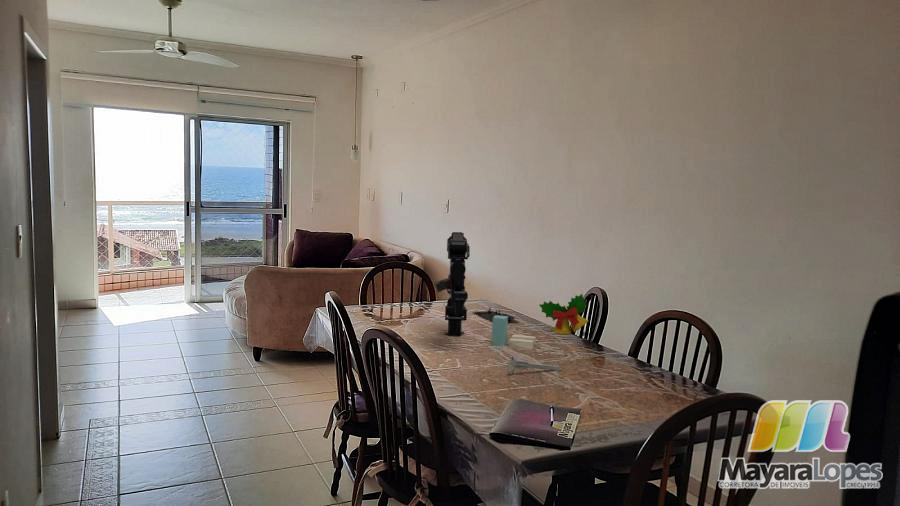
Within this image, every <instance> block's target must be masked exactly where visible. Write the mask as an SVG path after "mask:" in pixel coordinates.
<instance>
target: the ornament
mask: <svg viewBox="0 0 900 506" xmlns="http://www.w3.org/2000/svg"><path fill="white" fill-rule="evenodd" d="M586 300H587V299H586V298H584V295H583V293H581V294H580V295H575V296H574V297H570V301H567V304H568V305H563V306H562V305H560V303H559V302H557V303H553V302H552V301H551V300H549V302H546V301H543V304H538V305H539V307H540V308H541V313H545V318H551V319H552V321H553V322H554V321H555V320H557V321H556V323H555V326H554V327H553V329H552V332H553V333H555V334H559V333H560V334H561V335H570V334H572V333H573V332H574V333H576V332H577V331H578V330H580V329H581V328H582V327H584V326H585V325H586V324H587V323H589V320H588V319H586V318H585V317H583V316H581V315H580V314H581V313H585V307H587V306H588V305H587V304H586Z"/></svg>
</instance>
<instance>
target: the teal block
mask: <svg viewBox="0 0 900 506" xmlns="http://www.w3.org/2000/svg"><path fill="white" fill-rule="evenodd" d="M491 331H492V333H491V335H492V336H491V346H495V347H496V346H497V347H505V346H506V345H507V343H508V316H498V315H495V316H494V317H493V322H492V329H491Z"/></svg>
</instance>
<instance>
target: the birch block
mask: <svg viewBox="0 0 900 506" xmlns="http://www.w3.org/2000/svg"><path fill="white" fill-rule="evenodd" d="M536 341H537V336H533V335H532V336H530V335H523V334H522V335H521V334H513V335H512V336H510V338H509V341H508V348H509V349H517V350H526V351H528V350H529V351H533V350H534V348H535V347H536V344H537V343H536Z"/></svg>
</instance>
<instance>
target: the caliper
mask: <svg viewBox="0 0 900 506" xmlns="http://www.w3.org/2000/svg"><path fill="white" fill-rule="evenodd" d="M512 368H513V369H512ZM519 368H520V369H521V370H528V369H537V370H545V371H547V370H548V371H554V372H557V371H563V368H562V367H560V366H558V365H550V364H541V363H535V362H534V363H532V362H529V361H527V360H521V359H517V356H511V358H510V359H509V360H508V363H507V369H506V370H507V372H506V373H507V374H508V375H509V376H510V375H511V374H512V375H513V376H514V375H516V374H517V371H518V370H519Z"/></svg>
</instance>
